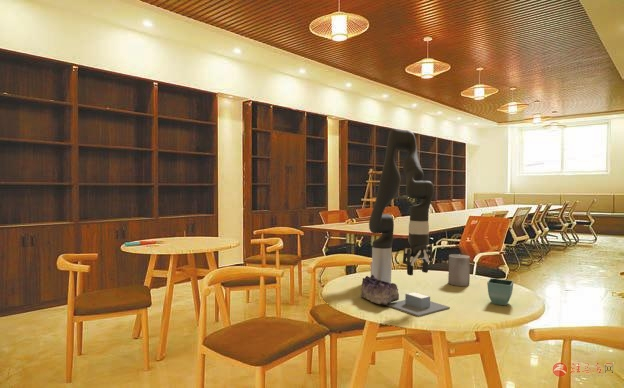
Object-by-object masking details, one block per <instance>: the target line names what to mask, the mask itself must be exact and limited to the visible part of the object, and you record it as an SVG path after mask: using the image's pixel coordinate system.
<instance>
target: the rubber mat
mask: <svg viewBox="0 0 624 388" xmlns="http://www.w3.org/2000/svg"><path fill="white" fill-rule="evenodd" d="M385 306H387V307H389V308H391V309H394V310H398V311H401V312H404V313H407V314H409V315H412V316H414V315H415V316H414V317H417V316H418V317H419V316H420V317H423V315H424V316H427V315H430V314H434V313H438V312H442V311H445V310H450V306H448V305H444V304H441V303H438V302H434V301H431V300H430V307H428V308H424V309H419V308H416V307H413V306H410V305H407V304H405V299H403V300H397V301H394V302H391V303H389V304H387V305H385Z"/></svg>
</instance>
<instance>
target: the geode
mask: <svg viewBox="0 0 624 388" xmlns="http://www.w3.org/2000/svg"><path fill="white" fill-rule="evenodd" d="M361 282H362V283H361V293H360V297H361V298H362V299H363V298H364V299H366V300H368V301H370V302H371V303H375V304H378V305H382V306H386V305H387V304H389V303H394V302H398V301H400V293H399V288H398V285H397V284H396V283H393V282H391V283H389V282H384V281H381V280H378V279H377V278H375V277H374V276H373V275H372V276H371V275H370V276H368V275H365V277H362V281H361Z"/></svg>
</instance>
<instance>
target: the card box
mask: <svg viewBox="0 0 624 388" xmlns="http://www.w3.org/2000/svg"><path fill="white" fill-rule="evenodd" d="M404 298H405V299H404V300H405V304H407V305H410V306H413V307H416V308H419V309H424V308H428V307H430V301H431V296H428V295H425V294H423V293H418V292H415V291H413V292H408V293H405V297H404Z"/></svg>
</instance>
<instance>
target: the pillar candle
mask: <svg viewBox="0 0 624 388" xmlns="http://www.w3.org/2000/svg"><path fill="white" fill-rule="evenodd" d="M470 267H471V256H470V255H467V254H462V253H460V252H459V254H457V253H453V254H452V253H451V254H449V255H448V276H447V278H448V281H447V283H448V285H452V286H455V287H468V286H470V279H471V278H470V277H471V275H470V272H471V271H470V270H471V268H470Z"/></svg>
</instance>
